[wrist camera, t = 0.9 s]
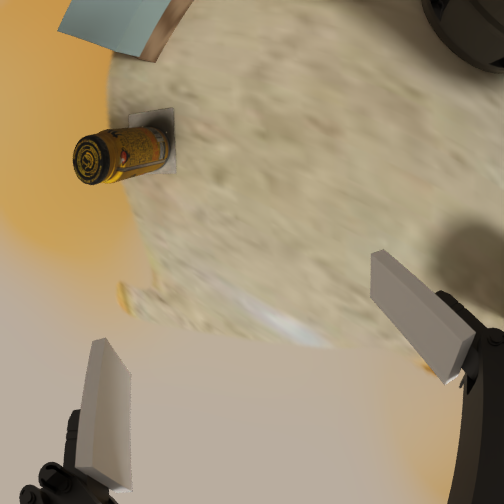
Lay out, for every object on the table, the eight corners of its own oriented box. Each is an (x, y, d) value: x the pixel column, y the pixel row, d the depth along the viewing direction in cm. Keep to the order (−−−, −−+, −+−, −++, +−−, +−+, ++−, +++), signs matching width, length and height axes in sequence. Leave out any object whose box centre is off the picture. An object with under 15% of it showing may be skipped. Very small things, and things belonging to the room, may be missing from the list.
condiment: (132, 174, 40) (69, 193, 29) (129, 114, 37) (63, 117, 26) (177, 173, 38) (116, 192, 27) (174, 107, 35) (111, 105, 24)
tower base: (142, -33, 28) (124, -42, 24) (208, -17, 28) (192, -30, 24) (100, 37, 34) (79, 33, 30) (157, 63, 34) (137, 58, 30)
